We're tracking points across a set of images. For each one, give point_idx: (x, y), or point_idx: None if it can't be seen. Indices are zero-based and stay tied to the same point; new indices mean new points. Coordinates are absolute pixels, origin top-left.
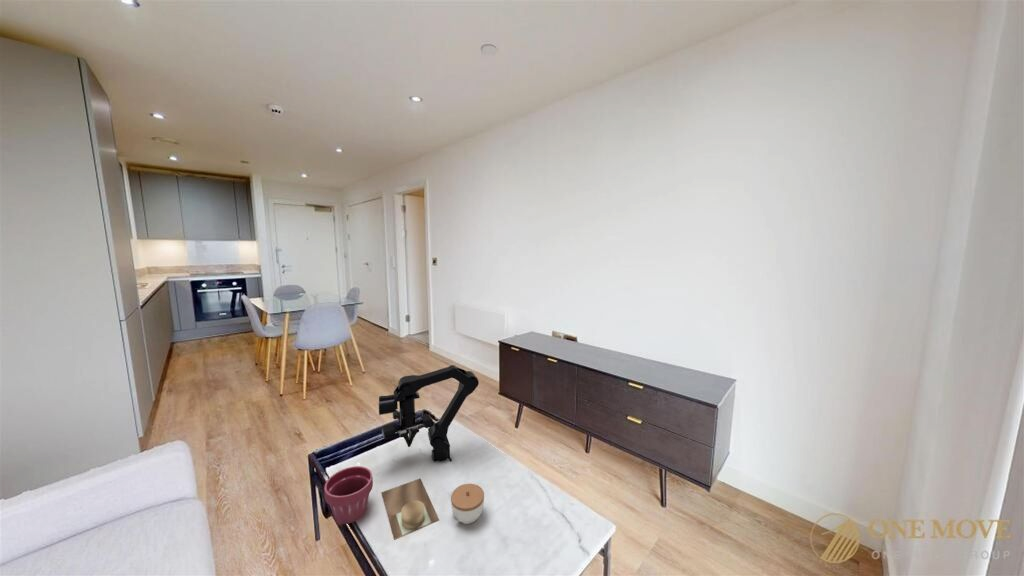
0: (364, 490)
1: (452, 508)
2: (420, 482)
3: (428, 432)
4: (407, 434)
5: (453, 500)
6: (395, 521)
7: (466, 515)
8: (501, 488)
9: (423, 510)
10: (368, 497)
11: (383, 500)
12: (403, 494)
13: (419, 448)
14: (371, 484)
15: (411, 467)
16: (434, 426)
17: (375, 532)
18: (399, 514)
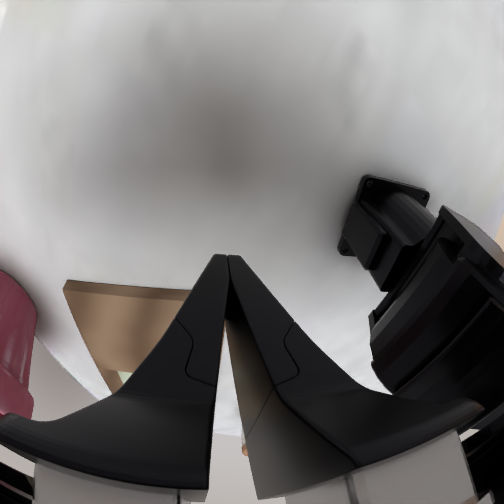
0: None
1: (242, 435)
2: None
3: (466, 289)
4: (195, 501)
5: (246, 452)
6: (116, 381)
7: None
8: (374, 378)
9: None
10: (29, 361)
11: (76, 323)
12: (142, 336)
13: (357, 38)
14: (30, 417)
15: (227, 179)
16: (468, 427)
17: (75, 364)
18: (126, 374)
